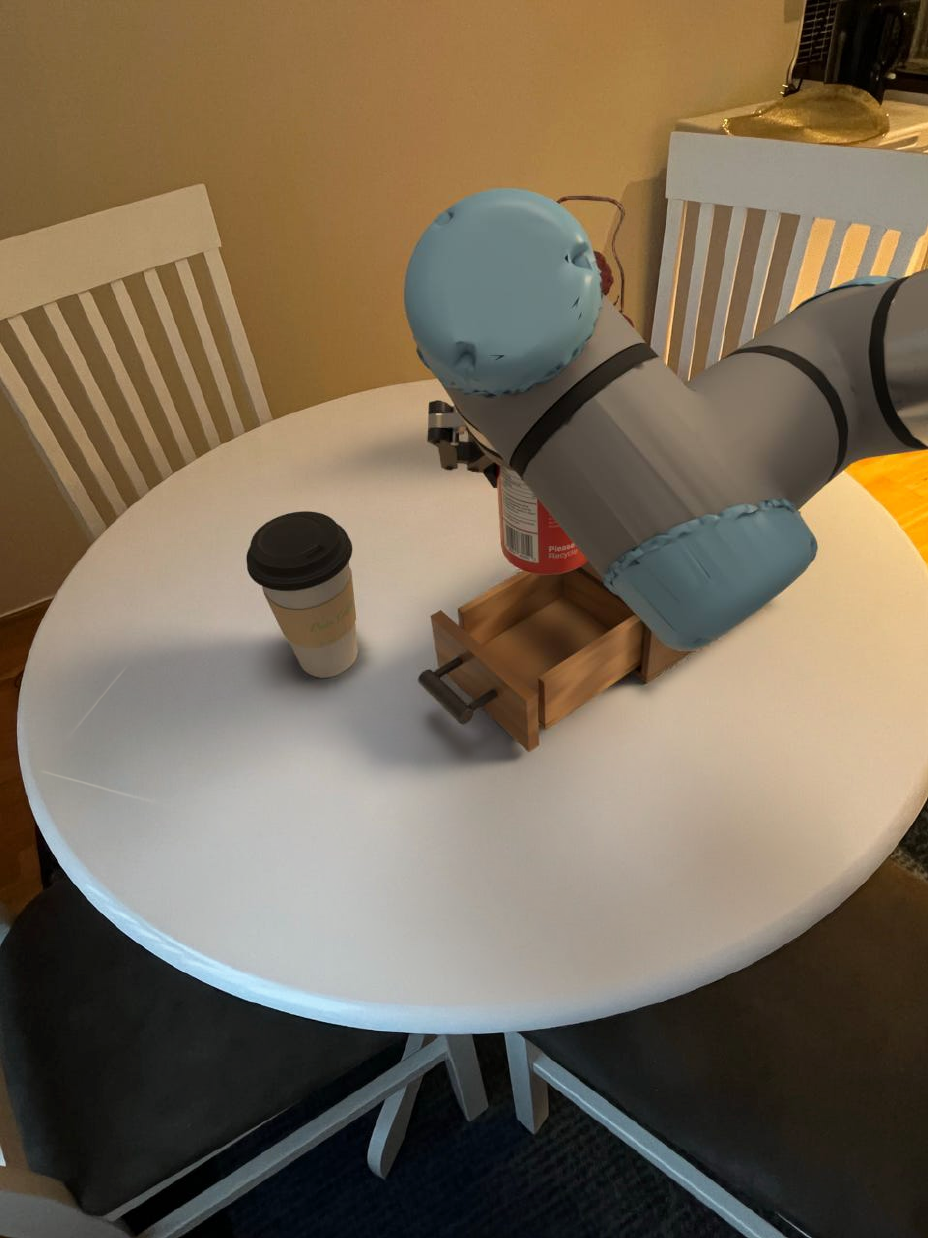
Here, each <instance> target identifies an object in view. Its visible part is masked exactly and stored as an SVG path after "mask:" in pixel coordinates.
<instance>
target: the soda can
mask: <svg viewBox="0 0 928 1238" xmlns="http://www.w3.org/2000/svg"><path fill="white" fill-rule="evenodd" d="M496 474H497V488H496V490H497V505H498V521H499V537H500V546H501V551H502V554H503V556H504V557H505V558H506V560H507V561H508V563H510V564H511V565H513V566H514V567H515V568H517V569H518V570H521V571H526V572H529V573H533V574H539V575H556V574H562V573H566V572H569V571H572V570H575V569H577V568H579V567H580V566H582V565H583V564H585V563H586V562H587V561H588V560H587V559H586V558H585V557H584V555H583V554H582V553H581V552H580V550H579V549H578V548H577V547H576V545H575V544H574V543H573V542H572V541H571V539H570V538H569V537H568V536H567V534H566V533H565V532H564V531H563V529H562V528H561V527H560V526H559V525H558V523H557V522H556V521H555V520H554V518H553V517H552V516H551V515H550V513H549V512H548V511H547V510H546V509H545V507H544V506H543V505H542V504H541V502H540V501H539V500H538V499H537V498H536V496H535V495H534V494H533V493H532V491H531V490H530V489H529V488H528V486H527V485H526V484H525V483H524V482H523V480H522V479H521V477H520V476H519V475H518V474H517V473H516V471H512V470H509V469H506V468H504V467H502V466H500V465H498V464H496Z"/></svg>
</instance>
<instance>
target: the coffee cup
mask: <svg viewBox="0 0 928 1238" xmlns="http://www.w3.org/2000/svg"><path fill="white" fill-rule="evenodd" d="M352 555H353V543H352V540H351V539H350V537H349V535H348V532H347V531H346V530H345V529H344V527H342V526H341V525H340V524H338V523H337V522H336V521H335V520H334V519H333V517H330V516H329V515H326V514H325V513H322V512H317V511H310V510H309V511H307V510H306V511H303V510H302V511H294V512H289V513H286V514H281V515H280V516H277V517H274V518H272V519H271V520H269V521H267V522H265V523H264V524H263V525H262V526H260V527H259V528H258V529H257V530H256V532H254V534H253V536H252V538H251V540H250V545H249V547H248V549H247V553H246V559H245V560H246V569H247V573H248V575H249V577H250V578H251V579H252V580H253V581H254V582H255V583H256V584H257V585H259V586H260V587H261V588H262V593H263V595H264V597H265V599H266V602H267V604H268V606H269V608H270V610H271V613H272V614H273V616H274V618H275V620H276V622H277V625H278V627H279V628H280V631H281V632H282V634H283V636H284V637H285V639H286V640H287V641H288V644H289V645H290V647H291V649H292V652H293V653H294V655H295V657H296V659H297V661H298V663H299V665H300V667H301V668H302V670H303V671H304V672H305V673H306V674H308V675H310V676H313V677H315V678H322V679H323V678H325V679H326V678H327V679H328V678H332V677H335V676H338V675H341V674H342V673H344V672H345V671H347V670H349V668H350V667H352V666H353V664H354V663H355V662H356V660H357V658H358V654H359V650H358V649H359V648H358V638H357V628H356V627H357V626H356V621H357V611H356V603H355V601H356V600H355V593H354V583H353V574H352V573H353V572H352V569H351V566H350V560H351V558H352Z"/></svg>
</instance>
